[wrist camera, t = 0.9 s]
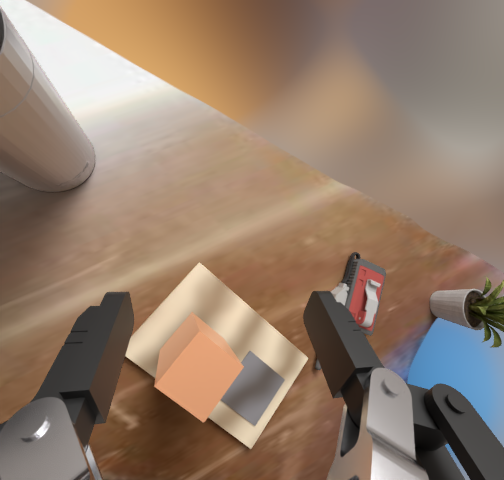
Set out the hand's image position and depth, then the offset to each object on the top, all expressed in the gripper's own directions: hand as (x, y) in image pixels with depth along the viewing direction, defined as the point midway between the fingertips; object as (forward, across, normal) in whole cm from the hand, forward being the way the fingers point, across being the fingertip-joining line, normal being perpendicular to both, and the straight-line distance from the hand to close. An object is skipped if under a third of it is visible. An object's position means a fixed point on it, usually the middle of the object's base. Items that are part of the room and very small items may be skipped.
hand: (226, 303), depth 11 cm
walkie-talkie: (+16, -23, +22) cm, 36 cm away
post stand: (+11, -2, +23) cm, 26 cm away
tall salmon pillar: (+10, +2, +19) cm, 22 cm away
